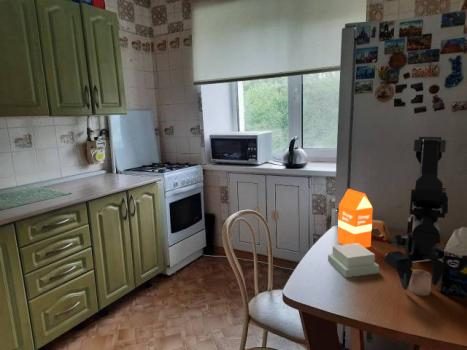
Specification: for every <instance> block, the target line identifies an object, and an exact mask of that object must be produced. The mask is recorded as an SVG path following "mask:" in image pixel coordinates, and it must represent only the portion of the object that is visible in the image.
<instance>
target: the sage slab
mask: <svg viewBox="0 0 467 350" xmlns="http://www.w3.org/2000/svg"><path fill="white" fill-rule="evenodd" d="M328 261H329V262H330V263H331V264H332V265H333V266H334V267H333V266H332V265H331V264H330V263H329V262H328ZM327 262H328V263H329V264H330V265H331V266H332V267H333V268H334V269H335V270H337V272H339V273H340V274H341V275H342V276H343V277H344V276H345V277H344V278H353V277H352V276H354V277H359V276H360V275H361V276H368V275H375V274H380V265H379V264H378V263H376V262H375V261H374V264H368V265H361V266H354V267H346V266H345V265H344V264H343V263H342V262H340V261H339V260H338V259H337V258H336V257H335V256H333V253H331V254H327Z"/></svg>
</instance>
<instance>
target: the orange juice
mask: <svg viewBox="0 0 467 350" xmlns="http://www.w3.org/2000/svg"><path fill="white" fill-rule="evenodd" d="M373 210H374V209H373V206H372V204H371V202H370V200H369V199H368V196H367V195H366V193H364V192H360V191H357V190H354V189H351V188H347V189H346V192H345V194H344V196H343V197H342V199H341V200H340V202H339V204H338V218H337V219H338V220H337V222H338V223H337V226H338V227H337V242H338V243H340V245H347V244H354V243H359V244H360V245H362V246H363V247H365V248H366V249H367V248H370V247H371V246H372V245H371V243H372V242H371V241H372V230H373V229H372V219H373Z"/></svg>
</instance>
